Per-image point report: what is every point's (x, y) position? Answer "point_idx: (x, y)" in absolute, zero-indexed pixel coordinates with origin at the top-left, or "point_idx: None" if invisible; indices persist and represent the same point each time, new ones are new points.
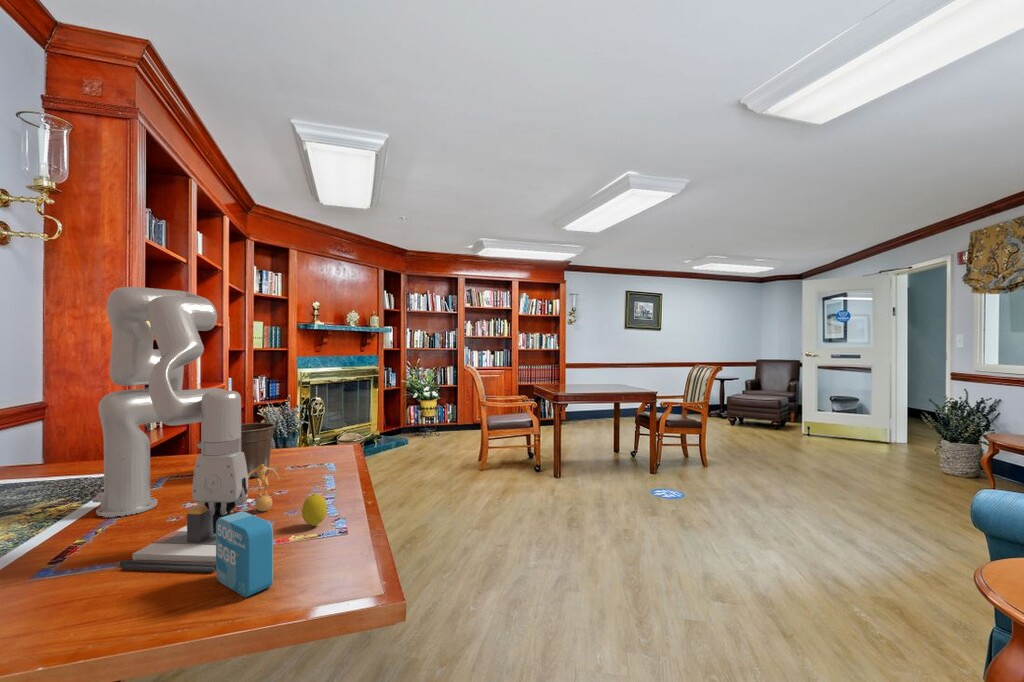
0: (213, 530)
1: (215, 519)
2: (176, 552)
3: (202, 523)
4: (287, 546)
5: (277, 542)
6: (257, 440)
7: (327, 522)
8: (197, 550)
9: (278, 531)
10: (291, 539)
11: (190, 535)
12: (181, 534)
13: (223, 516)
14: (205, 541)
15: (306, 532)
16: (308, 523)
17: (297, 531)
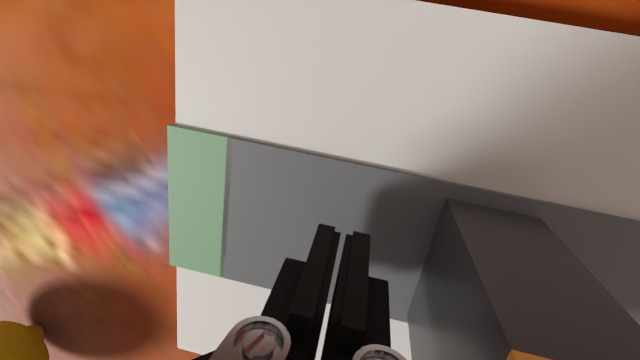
0: (369, 241)
1: (346, 295)
2: (557, 69)
3: (467, 290)
4: (14, 148)
5: (87, 200)
6: None
7: None
8: (416, 86)
9: (155, 314)
10: (48, 222)
11: (533, 235)
12: None
13: (282, 321)
14: (419, 208)
15: (34, 280)
16: (20, 326)
17: (77, 297)
